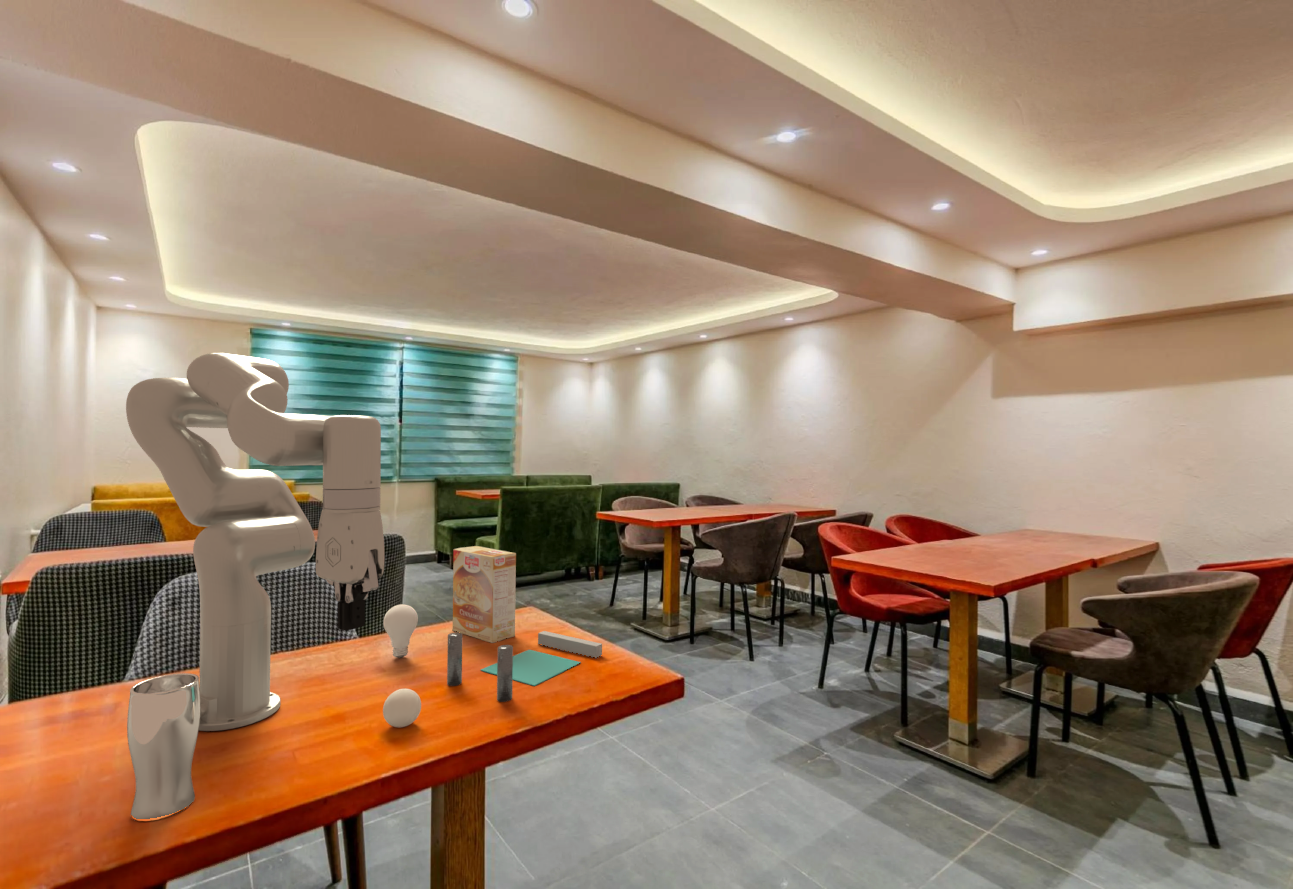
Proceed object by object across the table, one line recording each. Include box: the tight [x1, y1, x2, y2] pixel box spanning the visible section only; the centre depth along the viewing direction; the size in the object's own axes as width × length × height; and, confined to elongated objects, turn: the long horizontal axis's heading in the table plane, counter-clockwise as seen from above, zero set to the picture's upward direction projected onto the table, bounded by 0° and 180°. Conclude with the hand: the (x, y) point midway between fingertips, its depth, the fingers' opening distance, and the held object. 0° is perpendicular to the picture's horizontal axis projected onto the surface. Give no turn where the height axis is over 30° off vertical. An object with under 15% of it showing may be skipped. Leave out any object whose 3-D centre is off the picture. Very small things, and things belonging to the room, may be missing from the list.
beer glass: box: [126, 672, 201, 819], centre depth 73 cm, size 7×7×15 cm
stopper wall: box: [537, 630, 603, 659], centre depth 131 cm, size 2×16×2 cm, turn 59°
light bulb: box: [382, 603, 419, 659], centre depth 125 cm, size 7×7×11 cm
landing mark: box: [480, 649, 582, 687], centre depth 120 cm, size 14×14×1 cm
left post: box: [446, 632, 463, 687], centre depth 112 cm, size 3×3×9 cm
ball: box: [382, 688, 422, 728], centre depth 95 cm, size 6×6×6 cm
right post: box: [496, 644, 514, 703], centre depth 105 cm, size 3×3×9 cm
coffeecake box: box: [451, 545, 517, 644], centre depth 141 cm, size 15×7×20 cm, turn 53°
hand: (351, 627), depth 87 cm, fingers closed
